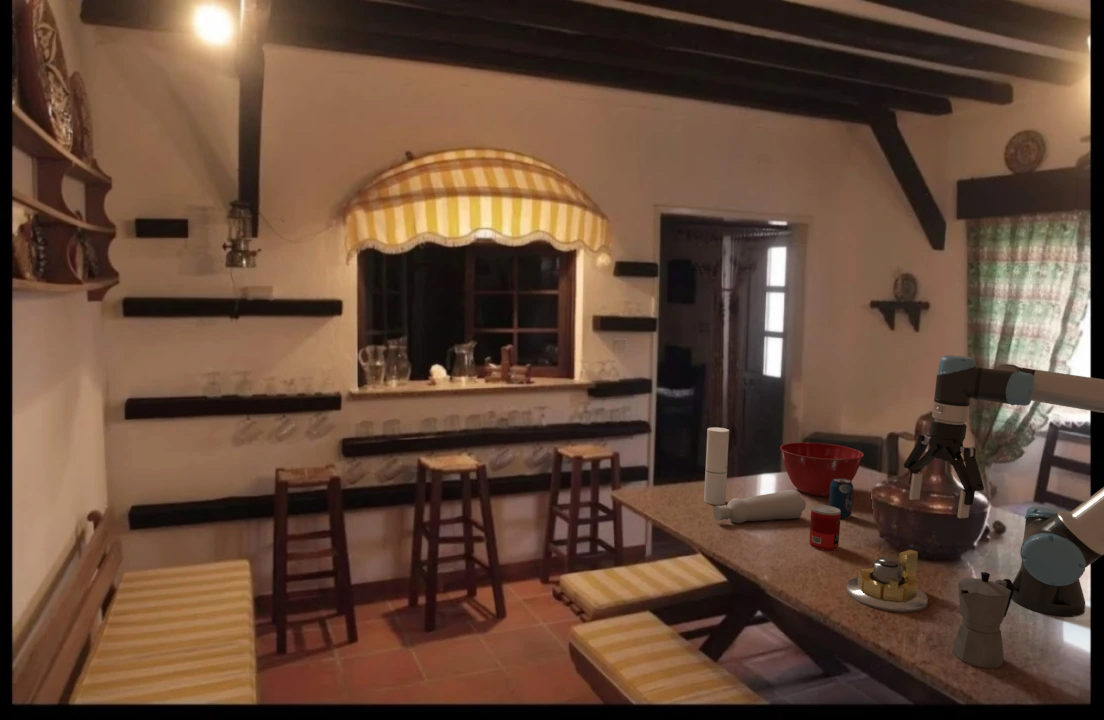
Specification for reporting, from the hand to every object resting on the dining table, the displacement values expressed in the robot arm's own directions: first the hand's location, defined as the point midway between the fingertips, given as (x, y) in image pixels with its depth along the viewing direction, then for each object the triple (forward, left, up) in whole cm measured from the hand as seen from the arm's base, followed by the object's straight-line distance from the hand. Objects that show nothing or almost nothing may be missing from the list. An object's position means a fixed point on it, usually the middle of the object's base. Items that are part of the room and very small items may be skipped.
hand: (937, 508), depth 183 cm
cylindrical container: (+83, -13, -22) cm, 87 cm away
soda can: (+51, -37, -23) cm, 67 cm away
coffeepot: (-22, +20, -23) cm, 37 cm away
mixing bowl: (+73, -56, -23) cm, 95 cm away
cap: (+6, +9, -22) cm, 25 cm away
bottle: (+62, -10, -23) cm, 67 cm away
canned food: (+36, -8, -23) cm, 43 cm away
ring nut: (+6, +6, -21) cm, 23 cm away
